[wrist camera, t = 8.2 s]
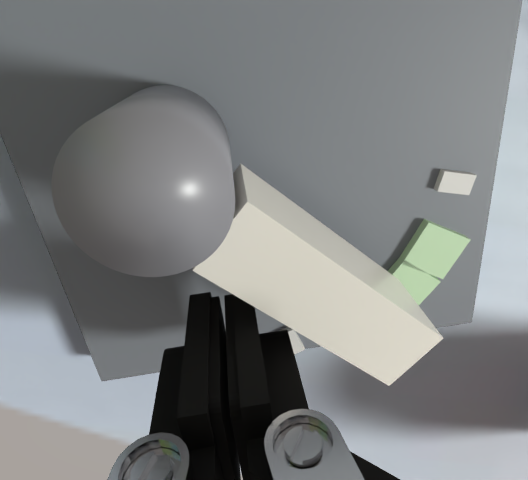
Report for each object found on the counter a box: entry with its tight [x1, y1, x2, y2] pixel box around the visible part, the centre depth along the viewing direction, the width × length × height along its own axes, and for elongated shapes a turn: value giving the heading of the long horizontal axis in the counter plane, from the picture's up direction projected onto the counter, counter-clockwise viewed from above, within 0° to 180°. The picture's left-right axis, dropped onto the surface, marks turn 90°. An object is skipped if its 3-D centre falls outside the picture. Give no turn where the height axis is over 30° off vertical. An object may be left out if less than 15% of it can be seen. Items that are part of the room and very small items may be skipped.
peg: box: [51, 85, 443, 386], centre depth 9 cm, size 9×3×4 cm, turn 52°
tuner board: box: [0, 0, 522, 381], centre depth 11 cm, size 13×13×2 cm
